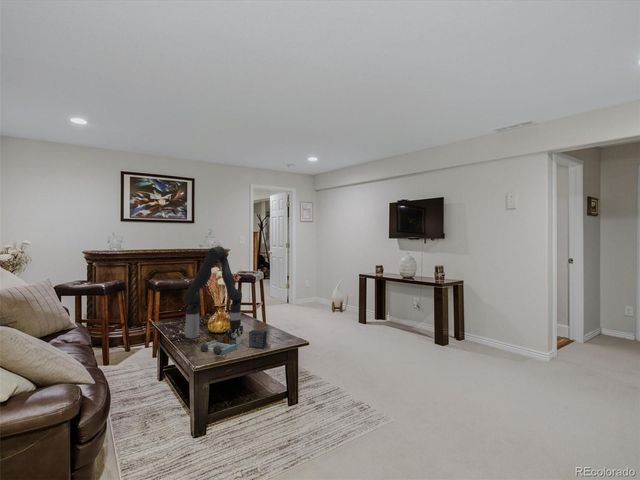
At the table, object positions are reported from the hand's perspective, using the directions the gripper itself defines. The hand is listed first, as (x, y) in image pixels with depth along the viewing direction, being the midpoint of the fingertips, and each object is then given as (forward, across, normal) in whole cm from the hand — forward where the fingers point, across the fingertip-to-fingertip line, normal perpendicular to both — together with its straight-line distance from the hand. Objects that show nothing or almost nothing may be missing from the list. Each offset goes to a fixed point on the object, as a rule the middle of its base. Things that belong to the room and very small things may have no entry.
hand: (235, 342), depth 244 cm
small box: (+1, -2, +18) cm, 18 cm away
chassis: (+1, +15, -1) cm, 15 cm away
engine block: (+1, 0, 0) cm, 1 cm away
